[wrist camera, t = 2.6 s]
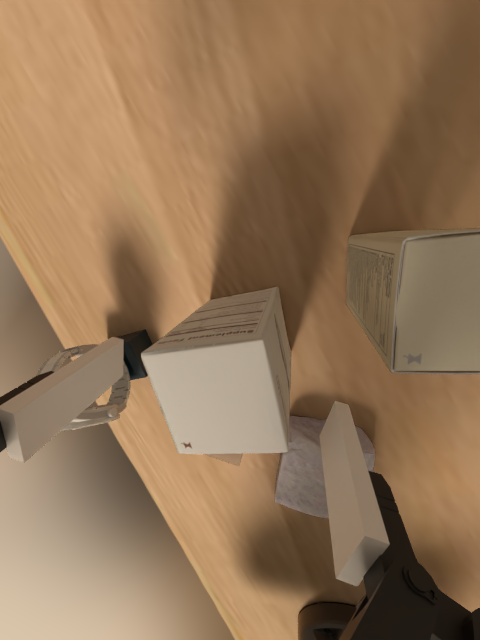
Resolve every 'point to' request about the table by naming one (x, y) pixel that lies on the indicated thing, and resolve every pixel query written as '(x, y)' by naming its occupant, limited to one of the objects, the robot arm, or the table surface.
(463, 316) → the skincare box
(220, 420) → the supplement box
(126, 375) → the watch
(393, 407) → the table surface
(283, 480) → the stone block
